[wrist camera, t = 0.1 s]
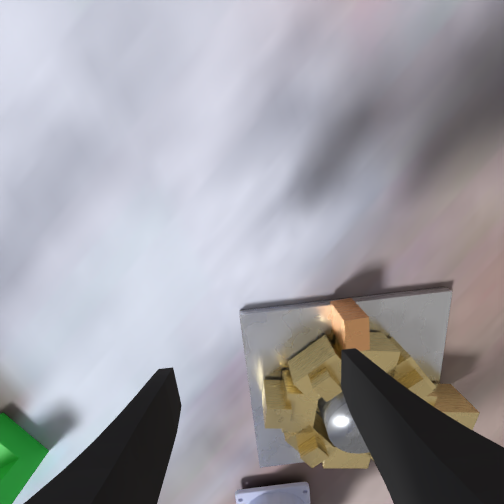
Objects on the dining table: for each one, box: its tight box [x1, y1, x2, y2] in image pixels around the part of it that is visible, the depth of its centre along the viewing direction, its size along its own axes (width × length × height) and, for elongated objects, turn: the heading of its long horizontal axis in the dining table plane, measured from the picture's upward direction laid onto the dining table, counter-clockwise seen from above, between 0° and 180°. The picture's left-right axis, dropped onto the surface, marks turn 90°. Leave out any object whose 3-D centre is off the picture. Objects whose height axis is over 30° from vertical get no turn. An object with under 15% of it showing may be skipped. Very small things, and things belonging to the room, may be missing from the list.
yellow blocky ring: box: [262, 332, 479, 468], centre depth 22 cm, size 18×13×4 cm
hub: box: [240, 287, 452, 467], centre depth 22 cm, size 18×18×4 cm
